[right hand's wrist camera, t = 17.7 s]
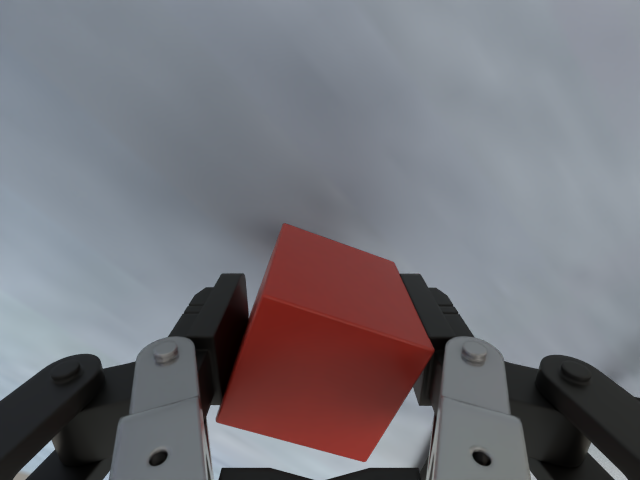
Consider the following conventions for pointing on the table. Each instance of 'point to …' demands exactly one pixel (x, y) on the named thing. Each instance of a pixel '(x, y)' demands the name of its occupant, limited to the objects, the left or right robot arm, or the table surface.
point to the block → (326, 348)
